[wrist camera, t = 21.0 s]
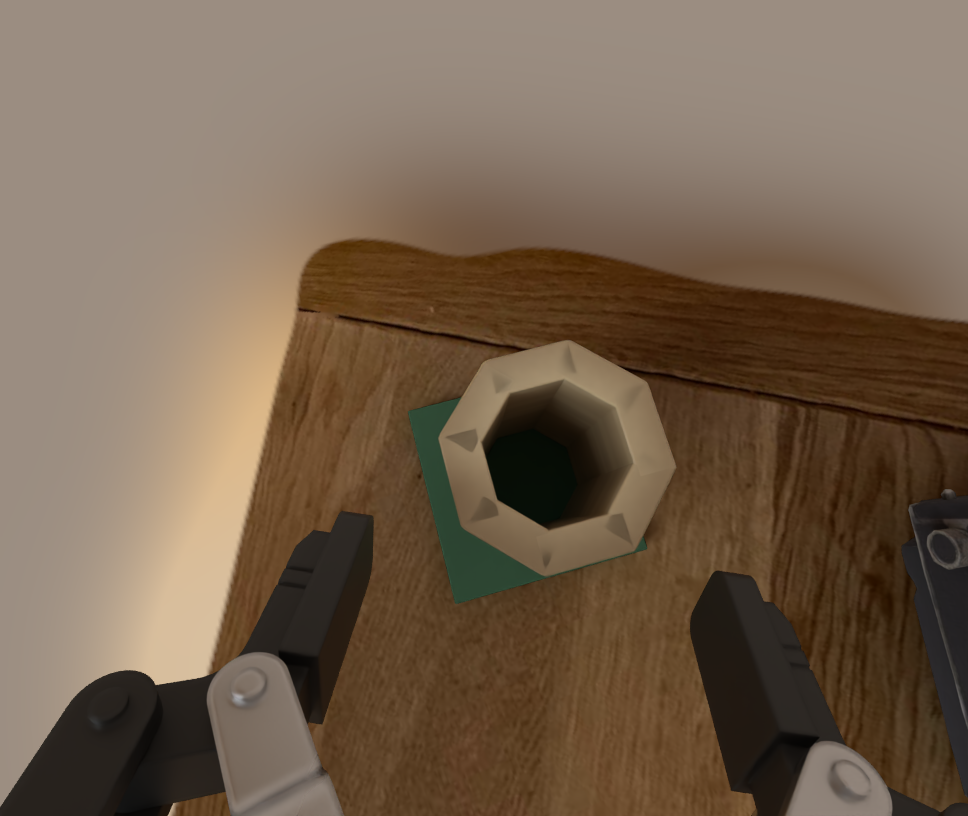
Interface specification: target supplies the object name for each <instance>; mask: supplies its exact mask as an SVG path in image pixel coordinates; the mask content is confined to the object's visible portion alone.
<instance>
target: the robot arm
mask: <svg viewBox="0 0 968 816" xmlns="http://www.w3.org/2000/svg"><path fill="white" fill-rule="evenodd" d="M373 524H374V520H373V516H371V515H364V514H358V513H352V512H345V511H341V512H340V513H339V515H338V517H337V519H336V521H335V523H334V526H333V528H332V530H331V532H330V533H329V532H323V531H316V530H313V531H312V532H311V533H310V534H309V535H308V536H307V537H305V538H304V539H303V540H302V541H301V542H300V543H299V544H298V545H296V547H295V549H294V551H293V553H292V555H291V557H290V559H289V561H288V563H287V566H286V569H284V571H283V573H282V575H281V577H280V579H279V582H278V585H276V587H275V589H274V591H273V593H272V595H271V597H270V599H269V601H268V603H267V605H266V607H265V609H264V611H263V613H262V615H261V617H260V619H259V621H258V623H257V625H256V627H255V629H254V631H253V633H252V635H251V637H250V639H249V641H248V643H247V644H246V646H245V648H244V649H243V651H242V652H241V653H240V654H239V656H238V657H237V658H235V659H233V660H232V661H230V662H229V663H227V664H226V665H225V666H224V667H222V668H221V669H220V670H219V671H217V672H215V673H213V674H211V675H208V676H205V677H202V678H197V679H192V680H186V681H179V682H173V683H167V684H160V685H155V683H154V681H153V680H152V679H151V678H150V677H149V676H148V675H146V674H144V673H142V672H138V671H131V670H129V671H128V670H126V671H118V672H115V673H111V674H108V675H106V676H103V677H101V678H99V679H97V680H95V681H94V682H92V683H91V684H89V685H88V686H86V687H85V688H84V689H83V690H81V691H80V692H79V693H78V694H77V695H76V696H75V697H74V698H73V700H72V701H71V702H70V704H69V705H68V706H67V708H66V709H65V711H64V712H63V714H62V715H61V717H60V718H59V720H58V721H57V723H56V724H55V726H54V728H53V729H52V730H51V732H50V734H49V735H48V736H47V738H46V739H45V741H44V742H43V744H42V745H41V747H40V749H39V750H38V752H37V753H36V754H35V756H34V757H33V759H32V760H31V762H30V763H29V765H28V766H27V768H26V769H25V771H24V772H23V774H22V776H21V777H20V778H19V780H18V781H17V783H16V784H15V786H14V788H13V789H12V790H11V792H10V793H9V795H8V796H7V798H6V799H5V801H4V802H3V804H2V805H1V807H0V816H168V814H169V812H170V809H171V807H172V805H173V803H176V802H181V801H185V800H190V799H195V798H199V797H204V796H208V795H213V794H217V793H222V792H226V795H227V799H228V804H229V809H230V814H231V816H344V814H343V812H342V809H341V806H340V803H339V800H338V797H337V794H336V792H335V789H334V786H333V784H332V781H331V779H330V777H329V775H328V773H327V771H326V770H324V769H323V767H322V765H321V763H320V760H319V757H318V754H317V751H316V749H315V746H314V743H313V740H312V737H311V734H310V731H309V728H308V722H310V723H316V724H323V721H324V718H325V714H326V711H327V708H328V705H329V702H330V699H331V696H332V693H333V690H334V687H335V684H336V681H337V678H338V675H339V672H340V669H341V666H342V663H343V660H344V657H345V654H346V651H347V647H348V644H349V641H350V638H351V635H352V632H353V629H354V626H355V623H356V620H357V617H358V614H359V611H360V608H361V605H362V602H363V599H364V596H365V593H366V590H367V586H368V583H369V579H370V574H371V569H372V561H373ZM690 633H691V639H692V643H693V647H694V651H695V655H696V658H697V662H698V666H699V670H700V674H701V677H702V681H703V685H704V689H705V693H706V696H707V700H708V704H709V708H710V712H711V715H712V719H713V723H714V727H715V731H716V734H717V738H718V742H719V746H720V750H721V753H722V757H723V761H724V765H725V769H726V772H727V776H728V780H729V784H730V787H731V791H736V792H743V793H749V794H753V798H754V801H755V805H756V809H755V811H754V812H753V813H752V815H751V816H968V804H967V803H955V804H952V805H950V806H949V807H947V808H946V809H945V810H944V811H942V812H939V811H937V810H935V809H933V808H931V807H928V806H926V805H924V804H922V803H920V802H918V801H916V800H914V799H912V798H909V797H907V796H905V795H903V794H901V793H899V792H897V791H895V790H893V789H891V788H889V787H887V786H886V784H885V783H884V781H883V779H882V778H881V776H880V775H879V774H878V772H877V771H876V770H875V769H874V767H873V766H872V765H871V764H870V763H869V762H868V761H867V760H866V759H865V758H863V757H862V756H861V755H860V754H858V753H857V752H855V751H854V750H852V749H851V748H849V747H847V746H846V744H845V742H844V740H843V738H842V736H841V734H840V732H839V730H838V727H837V725H836V723H835V721H834V718H833V716H832V714H831V712H830V710H829V707H828V705H827V703H826V701H825V698H824V696H823V694H822V692H821V689H820V687H819V685H818V683H817V681H816V678H815V676H814V674H813V672H812V670H810V669H809V666H810V665H809V663H808V660H807V658H806V656H805V654H804V652H803V651H801V645H800V643H799V640H798V638H797V636H796V634H795V631H794V629H793V627H792V625H791V623H790V622H789V621H788V620H787V619H786V617H785V616H784V615H783V614H782V613H781V611H780V610H779V609H778V608H777V607H776V606H775V604H774V603H771V602H764V601H763V598H762V596H761V594H760V591H759V589H758V586H757V584H756V582H755V580H754V579H753V578H752V577H751V576H749V575H743V574H736V573H730V572H723V571H715V572H714V573H713V574H712V575H711V577H710V579H709V581H708V583H707V585H706V587H705V589H704V591H703V593H702V594H701V596H700V598H699V600H698V602H697V604H696V606H695V608H694V610H693V612H692V616H691V621H690Z"/></svg>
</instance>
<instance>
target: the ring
mask: <svg viewBox="0 0 968 816" xmlns="http://www.w3.org/2000/svg"><path fill="white" fill-rule="evenodd" d="M531 429H534V430H536V431H538V432H540V433H542V434H543V435H545V436H547V437H549V438H550V439H552V440H554V441H556V442H557V443H559V444H561V445H563V446H565V447H566V448H567V451H568V455H569V458H570V461H571V464H572V468H573V471H574V474H575V478H576V481H577V484H578V485H577V487H576V488H575V490H574V492H573V494H572V496H571V498H570V500H569V502H568V503H567V505H566V507H565V509H564V511H563V513H562V515H561V517H560V518H559V519H555V520H552V521H548V522H545V523H541V524H538V523H536V522H535V521H533V520H531V519H529V518H528V517H526V516H524V515H522V514H521V513H519V512H517V511H516V510H514V509H512V508H510V507H509V506H507V505H505V504H504V503H502V502H500V501H498V500H497V497H496V493H495V490H494V486H493V482H492V479H491V475H490V471H489V468H488V464H487V460H486V457H487V455H488V453H489V451H490V450H491V448H492V446H493V444H494V443H495V441H496V439H497V438H500V437H504V436H508V435H512V434H515V433H519V432H523V431H527V430H531ZM438 439H439V443H440V447H441V451H442V455H443V459H444V463H445V466H446V470H447V474H448V478H449V482H450V486H451V490H452V494H453V498H454V502H455V505H456V509H457V513H458V517H459V521H460V525H461V527H462V528H463V529H464V530H466V531H467V532H469V533H471V534H472V535H474V536H476V537H477V538H479V539H481V540H483V541H484V542H486V543H488V544H489V545H491V546H493V547H494V548H496V549H498V550H500V551H501V552H503V553H505V554H506V555H508V556H510V557H511V558H513V559H515V560H516V561H518V562H520V563H522V564H523V565H525V566H527V567H528V568H530V569H532V570H533V571H535V572H537V573H539V574H540V575H543V576H546V577H547V576H551V575H554V574H558V573H561V572H565V571H568V570H572V569H575V568H579V567H582V566H586V565H589V564H593V563H596V562H600V561H603V560H607V559H610V558H613V557H617V556H620V555H624V554H627V553H631V552H634V551H635V549H636V548H637V547H638V545H639V543H640V541H641V539H642V537H643V535H644V533H645V531H646V529H647V527H648V525H649V523H650V521H651V519H652V517H653V515H654V513H655V511H656V509H657V507H658V505H659V503H660V501H661V499H662V497H663V495H664V493H665V491H666V489H667V487H668V485H669V483H670V481H671V479H672V477H673V475H674V473H675V469H676V464H675V461H674V458H673V455H672V452H671V449H670V446H669V443H668V440H667V437H666V435H665V432H664V429H663V426H662V423H661V420H660V417H659V414H658V411H657V408H656V405H655V402H654V400H653V397H652V394H651V391H650V388H649V385H648V383H647V382H646V381H644V380H643V379H641V378H639V377H637V376H635V375H633V374H632V373H630V372H628V371H626V370H624V369H622V368H621V367H619V366H617V365H615V364H613V363H611V362H610V361H608V360H606V359H604V358H602V357H600V356H599V355H597V354H595V353H593V352H591V351H589V350H588V349H586V348H584V347H582V346H580V345H578V344H577V343H575V342H573V341H571V340H564V341H560V342H556V343H552V344H548V345H545V346H541V347H537V348H533V349H529V350H525V351H521V352H517V353H513V354H509V355H505V356H501V357H497V358H493V359H489V360H486V361H485V362H484V363H482V365H481V366H480V368H479V370H478V371H477V373H476V375H475V376H474V378H473V380H472V381H471V383H470V385H469V386H468V388H467V390H466V391H465V393H464V395H463V396H462V398H461V400H460V401H459V403H458V405H457V406H456V408H455V410H454V411H453V413H452V415H451V416H450V418H449V420H448V421H447V423H446V425H445V426H444V428H443V430H442V431H441V433H440V435H439V438H438Z"/></svg>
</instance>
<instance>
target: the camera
mask: <svg viewBox="0 0 968 816" xmlns="http://www.w3.org/2000/svg"><path fill="white" fill-rule="evenodd" d="M941 496H942V498H940V499H931V500H922V501H920V502H919V503H915V504H911V505H910V506H909V509H908V510H909V514H910V518H911V522H912V525H913V529H914V533H915V537H914V538H913V539H911V540H909V541H908V542H906V543H905V544H903V545H902V556H903V559H904V563H905V566H906V570H907V573H908V574H909V576H910V577H911V578H912V580H913V581H914V583H915V586H916V588H917V590H916V593H915V596H914V602H915V606H916V610H917V614H918V618H919V622H920V626H921V630H922V634H923V638H924V642H925V646H926V650H927V653H928V657H929V661H930V665H931V669H932V673H933V677H934V681H935V684H936V688H937V692H938V696H939V700H940V704H941V708H942V712H943V715H944V719H945V723H946V727H947V731H948V735H949V739H950V743H951V747H952V750H953V754H954V757H955V761H956V764H957V768H958V772H959V775H960V779H961V783H962V786H963V790H964V794H965V796H967V797H968V495H967V496H958V497H956V493H955V492H954V491H952V490H951V489H945V490H944V491H943V492H942V494H941Z"/></svg>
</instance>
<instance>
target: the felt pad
mask: <svg viewBox="0 0 968 816" xmlns="http://www.w3.org/2000/svg"><path fill="white" fill-rule="evenodd" d="M461 398H462V397H461ZM461 398H457V399H453V400H449V401H446V402H442V403H438V404H434V405H430V406H426V407H422V408H418V409H414V410H411V411H408V414H409V418H410V422H411V426H412V430H413V434H414V439H415V443H416V447H417V451H418V455H419V459H420V463H421V467H422V471H423V475H424V479H425V483H426V487H427V491H428V495H429V499H430V503H431V507H432V511H433V515H434V519H435V524H436V528H437V532H438V536H439V540H440V544H441V548H442V552H443V556H444V560H445V564H446V568H447V572H448V576H449V580H450V584H451V588H452V592H453V596H454V600H455V603H456V604H458V603H462V602H465V601H469V600H472V599H475V598H479V597H482V596H486V595H489V594H493V593H496V592H500V591H503V590H507V589H510V588H514V587H517V586H521V585H524V584H528V583H531V582H535V581H538V580H542V579H545V578H549V577H552V576H556V575H559V574H563V573H566V572H569V571H573V570H576V569H580V568H583V567H587V566H590V565H594V564H597V563H601V562H604V561H608V560H611V559H615V558H618V557H622V556H625V555H629V554H632V553H636V552H639V551H643V550H646V549H647V545H646V542H645V539H644V536H643V537H642V539H641V541H640V543H639V545H638V547H637V548H636V549H635V551H634V552H631V553H627V554H624V555H620V556H617V557H613V558H610V559H607V560H603V561H600V562H596V563H593V564H589V565H586V566H582V567H579V568H575V569H572V570H568V571H565V572H561V573H558V574H554V575H551V576H547V577H546V576H543V575H540V574H539V573H537V572H535V571H533V570H532V569H530V568H528V567H527V566H525V565H523V564H522V563H520V562H518V561H516V560H515V559H513V558H511V557H510V556H508V555H506V554H505V553H503V552H501V551H500V550H498V549H496V548H494V547H493V546H491V545H489V544H488V543H486V542H484V541H483V540H481V539H479V538H477V537H476V536H474V535H472V534H471V533H469V532H467V531H466V530H464V529H463V528H462V527H461V525H460V521H459V517H458V513H457V509H456V505H455V502H454V498H453V494H452V490H451V486H450V482H449V478H448V474H447V470H446V466H445V463H444V459H443V455H442V451H441V447H440V443H439V439H438V438H439V435H440V433H441V431H442V430H443V428H444V426H445V425H446V423H447V421H448V420H449V418H450V416H451V415H452V413H453V411H454V410H455V408H456V406H457V405H458V403H459V401H460V400H461ZM486 460H487V464H488V468H489V471H490V475H491V479H492V482H493V486H494V490H495V493H496V497H497V500H498V501H500V502H502V503H504V504H505V505H507V506H509V507H510V508H512V509H514V510H516V511H517V512H519V513H521V514H522V515H524V516H526V517H528V518H529V519H531V520H533V521H535V522H536V523H538V524H541V523H545V522H548V521H552V520H555V519H559V518H560V517H561V515H562V513H563V511H564V509H565V507H566V505H567V503H568V502H569V500H570V498H571V496H572V494H573V492H574V490H575V488H576V487H577V485H578V484H577V481H576V478H575V474H574V471H573V468H572V464H571V461H570V458H569V455H568V451H567V448H566V447H565V446H563V445H561V444H559V443H557V442H556V441H554V440H552V439H550V438H549V437H547V436H545V435H543V434H542V433H540V432H538V431H536V430H534V429H531V430H527V431H523V432H519V433H515V434H512V435H508V436H504V437H500V438H497V439H496V441H495V443H494V444H493V446H492V448H491V450H490V451H489V453H488V455H487V457H486Z"/></svg>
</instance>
